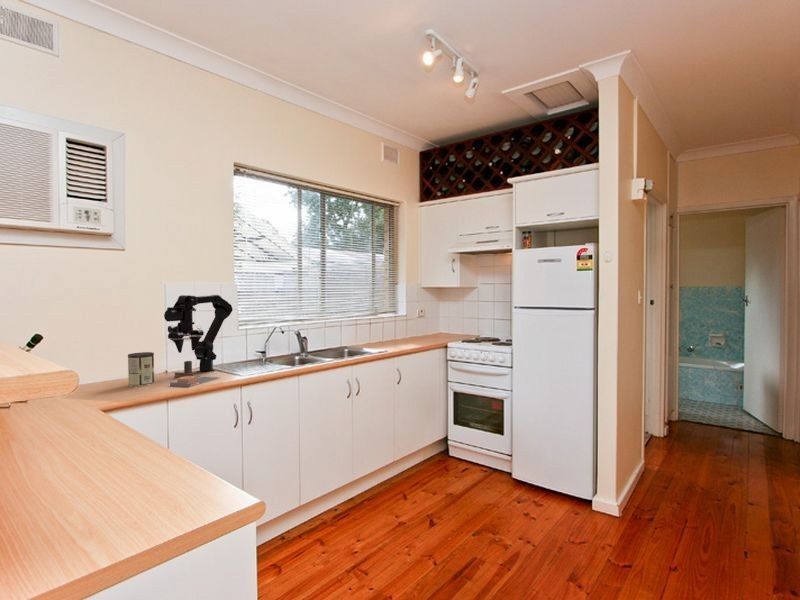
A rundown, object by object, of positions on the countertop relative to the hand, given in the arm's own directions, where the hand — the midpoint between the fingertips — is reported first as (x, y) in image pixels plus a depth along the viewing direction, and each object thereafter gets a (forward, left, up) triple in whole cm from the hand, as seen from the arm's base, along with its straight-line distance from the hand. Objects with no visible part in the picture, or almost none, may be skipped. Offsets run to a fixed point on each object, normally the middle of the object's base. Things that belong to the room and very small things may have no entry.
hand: (186, 351), depth 225 cm
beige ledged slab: (+4, +4, -12) cm, 13 cm away
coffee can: (+24, -4, -12) cm, 27 cm away
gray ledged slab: (+13, +17, -12) cm, 24 cm away
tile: (+19, +17, -12) cm, 28 cm away
